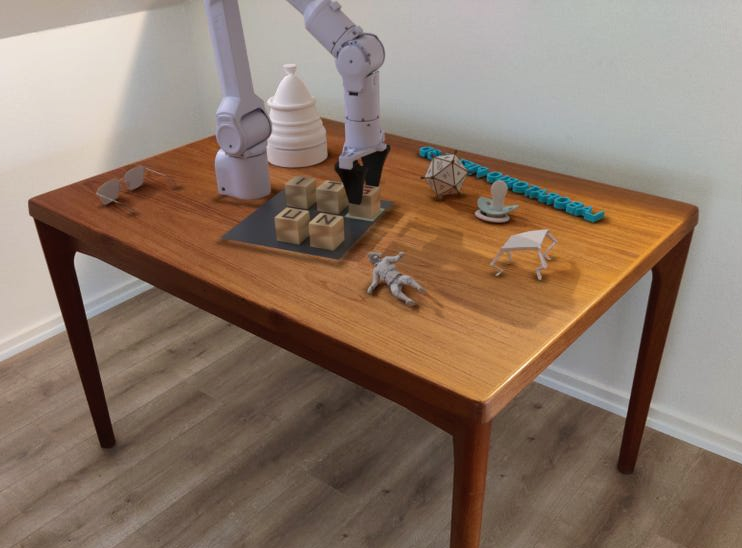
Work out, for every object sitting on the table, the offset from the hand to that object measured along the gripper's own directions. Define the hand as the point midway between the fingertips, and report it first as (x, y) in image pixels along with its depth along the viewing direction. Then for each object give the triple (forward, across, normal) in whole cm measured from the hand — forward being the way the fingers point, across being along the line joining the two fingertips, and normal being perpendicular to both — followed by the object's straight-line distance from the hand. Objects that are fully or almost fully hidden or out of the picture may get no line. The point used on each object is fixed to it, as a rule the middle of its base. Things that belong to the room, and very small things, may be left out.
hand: (363, 194), depth 127 cm
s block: (+3, 0, 0) cm, 3 cm away
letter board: (+4, -6, +8) cm, 11 cm away
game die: (+4, +14, -10) cm, 18 cm away
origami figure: (+4, -8, -31) cm, 32 cm away
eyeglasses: (+5, -6, +44) cm, 45 cm away
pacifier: (+4, +8, -21) cm, 23 cm away
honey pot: (+5, +24, +26) cm, 35 cm away
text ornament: (+4, +24, -18) cm, 30 cm away
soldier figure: (+4, -22, -14) cm, 26 cm away
